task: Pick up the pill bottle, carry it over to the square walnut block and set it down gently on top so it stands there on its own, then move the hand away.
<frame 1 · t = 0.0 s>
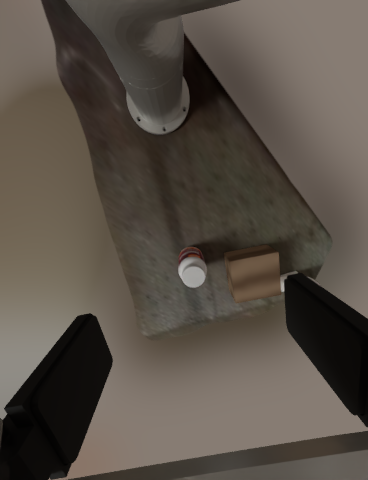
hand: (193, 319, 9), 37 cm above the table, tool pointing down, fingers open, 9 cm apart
pill bottle: (190, 257, 48), on the table
headphone stand: (289, 279, 50), on the table
walnut block: (247, 267, 49), on the table
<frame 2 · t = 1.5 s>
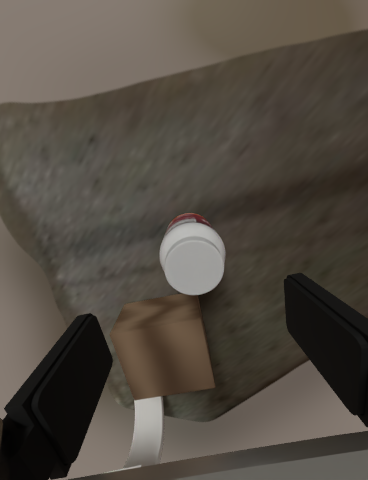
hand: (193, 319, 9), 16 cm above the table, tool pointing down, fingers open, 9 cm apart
pill bottle: (189, 234, 25), on the table
headphone stand: (149, 383, 32), on the table
walnut block: (168, 327, 29), on the table
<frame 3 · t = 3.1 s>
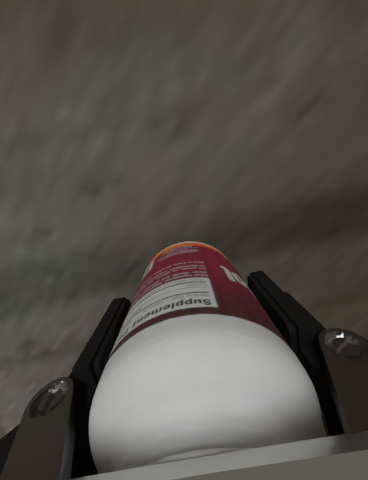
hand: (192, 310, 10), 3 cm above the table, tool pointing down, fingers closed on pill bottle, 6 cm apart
pill bottle: (189, 280, 13), on the table, touching gripper
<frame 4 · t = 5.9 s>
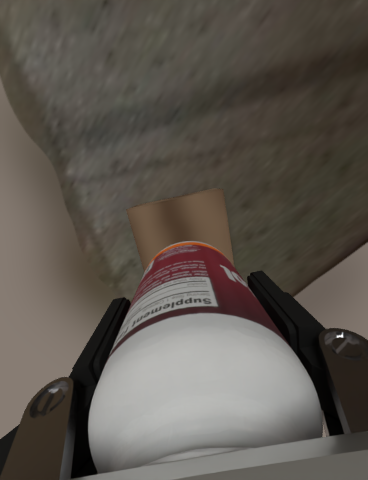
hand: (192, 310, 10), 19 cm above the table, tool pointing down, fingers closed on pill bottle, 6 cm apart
pill bottle: (189, 279, 13), point 15 cm above the table, touching gripper
walnut block: (183, 233, 28), on the table
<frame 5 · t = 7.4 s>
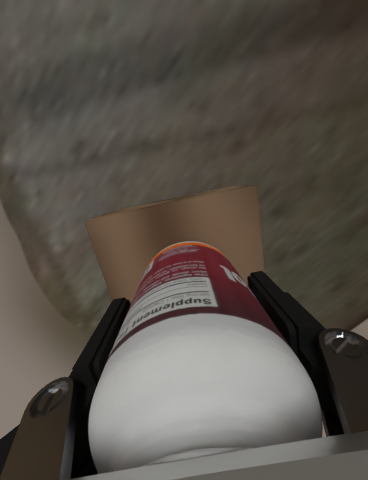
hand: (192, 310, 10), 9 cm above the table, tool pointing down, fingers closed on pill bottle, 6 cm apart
pill bottle: (189, 279, 13), point 6 cm above the table, touching gripper
walnut block: (184, 252, 19), on the table
when the fingers open (9 cm above the table, at t = 8.5 s): pill bottle stays where it is, resting on walnut block.
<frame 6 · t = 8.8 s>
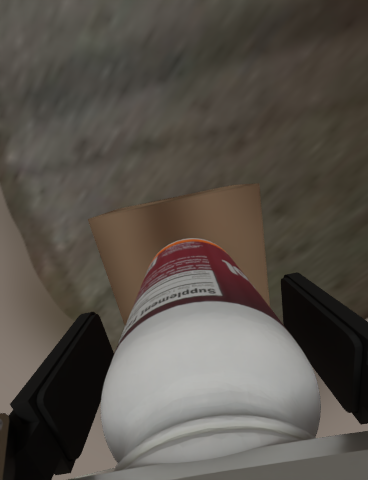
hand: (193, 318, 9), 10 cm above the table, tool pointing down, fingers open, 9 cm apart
pill bottle: (191, 276, 13), point 6 cm above the table, touching walnut block
walnut block: (186, 251, 19), on the table
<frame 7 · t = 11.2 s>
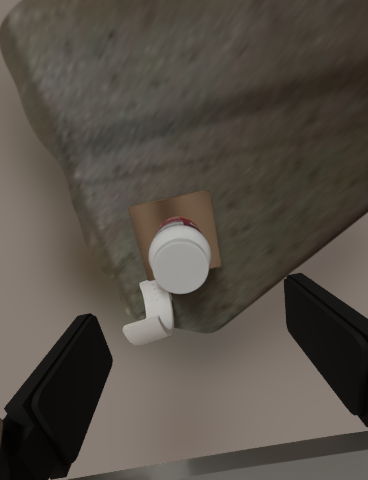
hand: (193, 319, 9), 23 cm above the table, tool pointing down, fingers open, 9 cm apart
pill bottle: (178, 237, 26), point 6 cm above the table, touching walnut block
headphone stand: (157, 292, 35), on the table
walnut block: (176, 229, 32), on the table
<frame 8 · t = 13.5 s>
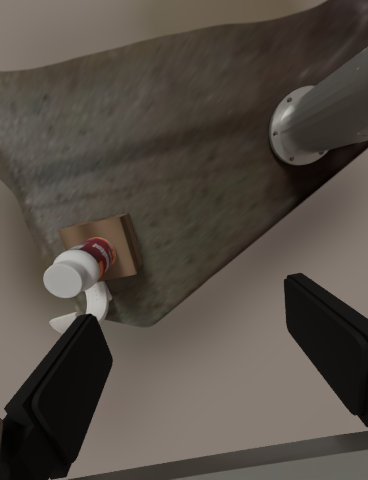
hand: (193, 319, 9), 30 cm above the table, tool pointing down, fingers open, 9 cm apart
pill bottle: (100, 252, 34), point 6 cm above the table, touching walnut block
headphone stand: (100, 293, 43), on the table
walnut block: (110, 243, 39), on the table
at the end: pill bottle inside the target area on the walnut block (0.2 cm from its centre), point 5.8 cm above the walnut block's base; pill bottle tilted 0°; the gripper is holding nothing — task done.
